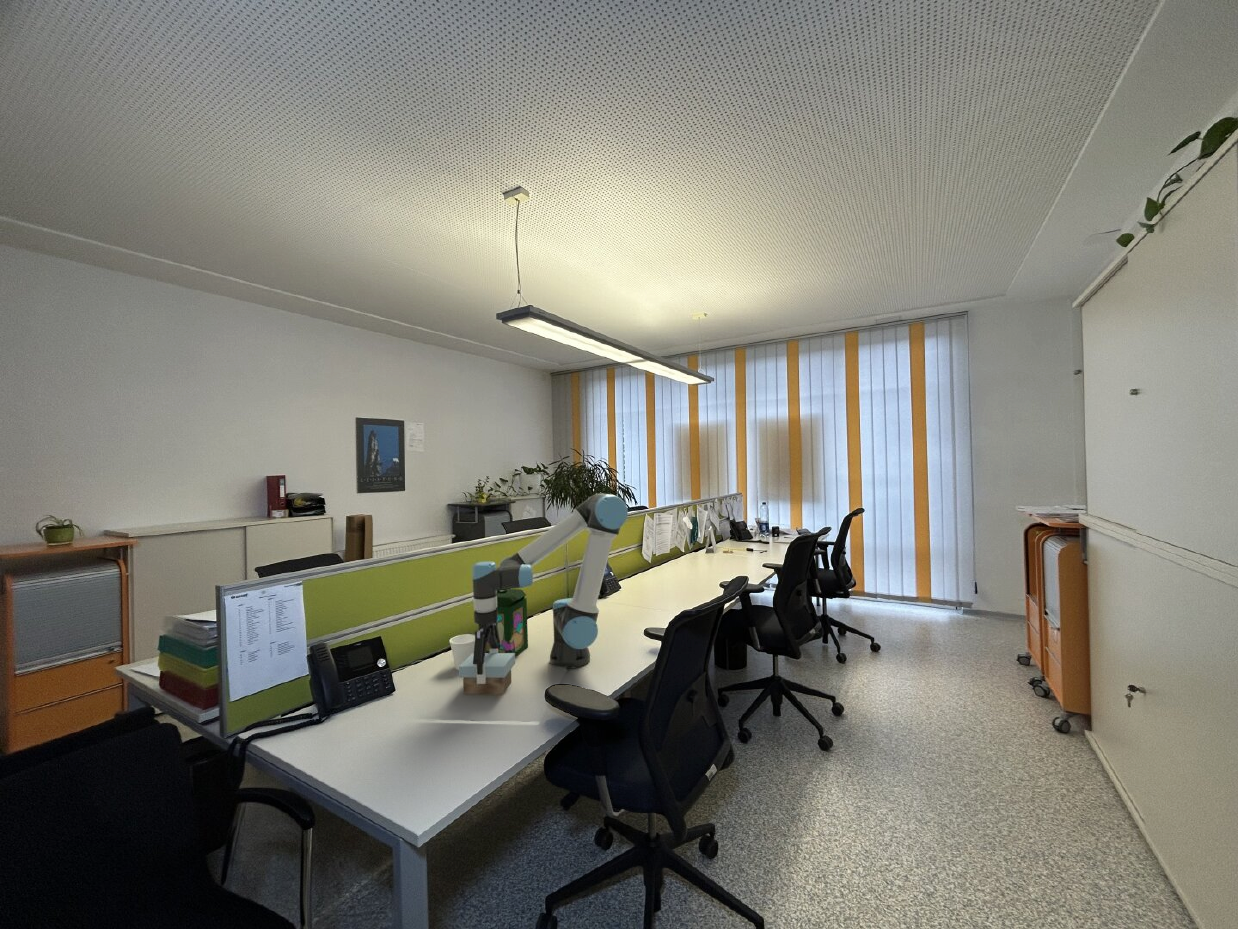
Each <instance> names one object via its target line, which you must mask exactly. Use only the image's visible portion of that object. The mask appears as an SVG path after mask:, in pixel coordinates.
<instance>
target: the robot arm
mask: <svg viewBox="0 0 1238 929" xmlns="http://www.w3.org/2000/svg"><path fill="white" fill-rule="evenodd" d="M628 511H629V510H628V507H627V504H626V503H625V501H624V500H623V499H622V498H621V497H619V496H617V495H616V494H615V495H614V494H610V493H604V492H601V493H600V492H599V493H594V494H593V495H591V496H590V497H588V498H587V499H586V500H584V501H583V502H581V503H580V504H579V505H578V506H577V507H575V508H573V511H572V513H571V514H570V515H568V516H567V517H565V518H564V519H562V520H561V521H560V522H557V523H556V524H555V525H553V527H551V528H550V529H548V530H547V531H546V532H545V531H544V533H543V534H541V535H540V536H539V537H537V538H536V539H534V540H532V541H531V542H530V543H528V544H527V545H526V546H524V547H522V549H519V551H517V552H516V553H514V554H513V555H512V556H509V557H505V558H503V559H502V561H500V564H499V566H497V564H496V562H494V561H491V560H490V561H488V560H487V561H479V562H476V563H475V564H473V567H472V594H473V599H472V603H473V611H474V612H473V621H474V623H475V624H477V625H478V624H479V625H478V631H477V630H476V631H474V635H475V645H474V656H473V664H476V671H477V684H485V683H486V669H485V663H484V658H485V652H486V646H487V642H489V644H490V647H491V648H492V649H490V653H498V649H497V648H500V647H501V645H498V644H500V638H499V632H498V627H497V619H498V613H497V609H496V608H497V590H503V589H522V588H527V587H531V586H532V585H533V582H534V575H533V567H534V566H536V565H537V564H538V563H540V562H541V561H542V560H544V559H545V558H547V557H548V556H549V555H551V554H552V553H554V552H555V551H556V550H557V549H559V548H560V547H562V546H563V545H565V544H566V543H568V542H569V541H570V540H571V539H573V538H574V537H575V536H578V535H579V534H580V533H582V532H583V531H584V530H586V531H588V532H589V535H588V539H587V542H586V546H585V550H584V553H583V554H584V555H583V558H582V562H581V566H580V569H579V574H578V577H577V581H576V584H575V589H574V592H573V596H572V598H571V597H569V598H563V599H562V598H561V599H557V600H554V602H553V604H552V609H551V610H552V622H553V625H552V626H553V643H552V647H551V650H550V654H549V663H550V665H553V666H556V667H563V668H566V669H575V668H579V667H582V666H585V665H587V664H588V663H589V662H590V661H591V652H590V650H589V647H590V646H591V645H592V644H594V643H595V641H596V639H597V638H598V635H599V634H598V633H599V627H598V624H597V620H598V618H599V612H600V610H599V607H597V603H598V599H599V595H600V591H601V587H602V583H603V581H604V580H603V579H604V575H605V571H606V567H607V564H608V559H609V557H610V556H609V555H610V552H611V548H612V544H613V540H614V539H615V538H617V537H618V536H619V535H620V530H621V527H623V525H624V524H625V523H626V522H627V519H628V514H629V512H628Z"/></svg>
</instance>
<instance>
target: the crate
mask: <svg viewBox="0 0 1238 929" xmlns="http://www.w3.org/2000/svg"><path fill="white" fill-rule="evenodd" d="M462 683H463V695H484V696H485V695H486V696H487V695H489V696H490V695H496V696H503V695H504V694H505V692H506V691H507V690H508V688H509V686H510V685H511V684H512V683H513V682H512V669H511V670H510V671H509V672H508V674H507V675H506V676H505V678H499V677H486V683H485V684H477V677H462Z"/></svg>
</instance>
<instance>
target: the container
mask: <svg viewBox="0 0 1238 929" xmlns="http://www.w3.org/2000/svg"><path fill="white" fill-rule="evenodd" d="M526 596H527V594H526V592H524V590H523V589H522V588H513V589H503V590H497V608H496V609H497V613H498V619H497V627H498V632H499V638H500V644H498V645H501V647H500V648H497V649H498V653H515V658H517V657H518V656H519V655H521V654H522V653H523V652H524V651H525V650H527V649H528V648H529V634H528V632H529V631H528V608H527V607H528V604H527V597H526ZM477 625H478V626H479V624H477ZM490 649H492V648H491V647H490V644H489V642H487V646H486V652H485V653H490Z"/></svg>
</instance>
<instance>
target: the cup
mask: <svg viewBox="0 0 1238 929" xmlns="http://www.w3.org/2000/svg"><path fill="white" fill-rule="evenodd" d="M449 644H450V647H451V652H452V658H453V662H454V663H453V664H454V668H455V670H457V671H459V666H460V665H461V664H462V663H463V662H464V661H465V660H466V659H467V658H468V657H469V656H470V655H471V654H472V653H474V645H475V634H473V633H471V634H470V633H469V634H468V633H466V634H459V635H456V636H453V637H451V638H450V639H449Z"/></svg>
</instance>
